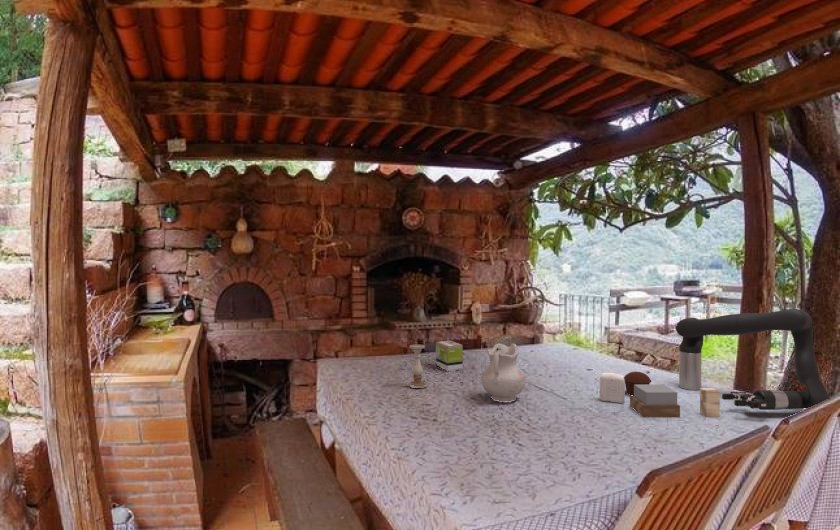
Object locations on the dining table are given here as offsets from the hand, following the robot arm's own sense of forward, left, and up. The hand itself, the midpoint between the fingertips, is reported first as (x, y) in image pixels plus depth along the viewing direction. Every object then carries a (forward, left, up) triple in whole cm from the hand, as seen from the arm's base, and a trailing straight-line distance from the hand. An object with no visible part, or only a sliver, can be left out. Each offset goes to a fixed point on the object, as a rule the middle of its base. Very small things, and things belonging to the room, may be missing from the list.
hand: (728, 399), depth 197 cm
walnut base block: (-4, -27, -7) cm, 28 cm away
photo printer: (-18, -39, -6) cm, 44 cm away
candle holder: (-41, -125, -6) cm, 132 cm away
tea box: (-80, -109, -6) cm, 136 cm away
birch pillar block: (0, -7, -6) cm, 9 cm away
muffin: (-29, -24, -6) cm, 38 cm away
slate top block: (-4, -27, -2) cm, 27 cm away
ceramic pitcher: (-20, -86, -6) cm, 89 cm away
